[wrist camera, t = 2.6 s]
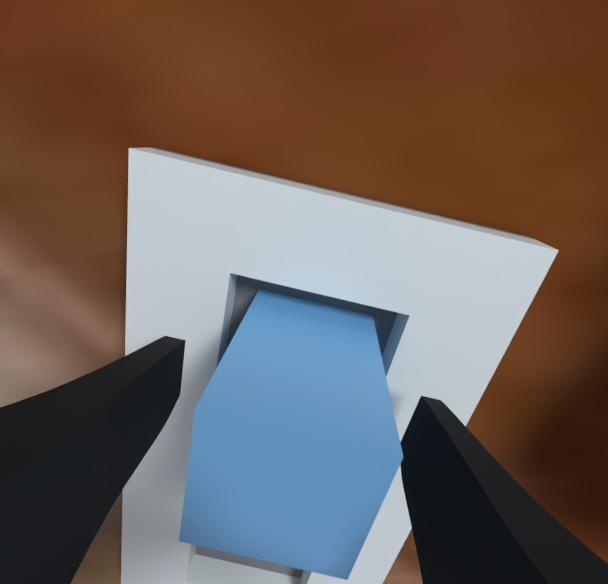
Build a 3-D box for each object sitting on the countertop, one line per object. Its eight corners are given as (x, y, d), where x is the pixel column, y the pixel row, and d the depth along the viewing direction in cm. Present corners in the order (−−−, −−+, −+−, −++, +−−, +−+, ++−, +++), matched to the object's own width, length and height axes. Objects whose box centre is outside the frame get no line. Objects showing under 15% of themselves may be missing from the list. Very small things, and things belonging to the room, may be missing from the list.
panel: (346, 612, 20) (347, 650, 18) (136, 564, 20) (120, 598, 18) (529, 236, 11) (558, 250, 10) (156, 147, 11) (128, 147, 9)
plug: (342, 404, 14) (347, 579, 8) (242, 381, 14) (178, 541, 8) (372, 315, 12) (403, 457, 7) (259, 288, 12) (195, 409, 7)
